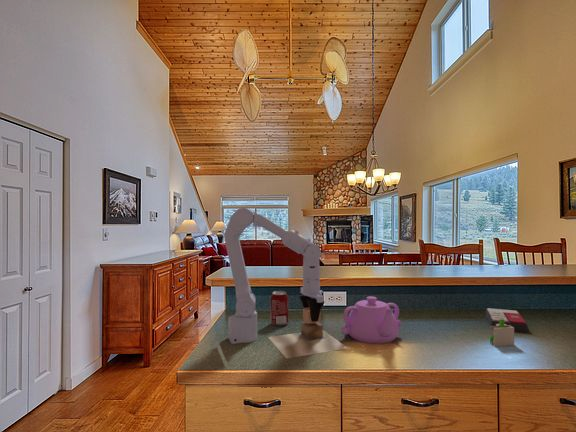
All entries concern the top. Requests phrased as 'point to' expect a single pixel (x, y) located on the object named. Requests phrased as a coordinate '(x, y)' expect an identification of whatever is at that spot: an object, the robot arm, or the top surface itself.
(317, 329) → the walnut block
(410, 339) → the top surface
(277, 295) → the soda can
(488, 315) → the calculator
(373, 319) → the teapot
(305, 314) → the terracotta block
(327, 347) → the beige flat square
